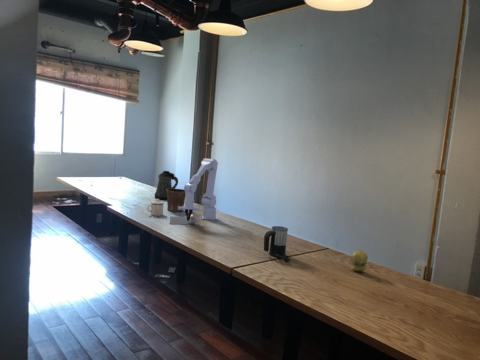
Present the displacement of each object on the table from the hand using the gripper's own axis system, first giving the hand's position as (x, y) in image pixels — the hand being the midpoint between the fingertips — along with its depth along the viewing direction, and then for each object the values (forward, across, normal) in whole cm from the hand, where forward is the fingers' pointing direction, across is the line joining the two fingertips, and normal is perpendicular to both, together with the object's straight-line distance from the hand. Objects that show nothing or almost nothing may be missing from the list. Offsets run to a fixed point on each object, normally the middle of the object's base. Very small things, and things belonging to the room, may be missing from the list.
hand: (188, 220), depth 261 cm
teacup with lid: (+2, -24, +20) cm, 31 cm away
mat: (+2, -2, +5) cm, 6 cm away
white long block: (+1, +2, +3) cm, 4 cm away
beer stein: (+2, -20, +88) cm, 91 cm away
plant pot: (+2, -10, +39) cm, 40 cm away
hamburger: (+2, +84, -86) cm, 120 cm away
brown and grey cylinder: (+2, +3, -6) cm, 6 cm away
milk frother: (+2, +48, -67) cm, 83 cm away
